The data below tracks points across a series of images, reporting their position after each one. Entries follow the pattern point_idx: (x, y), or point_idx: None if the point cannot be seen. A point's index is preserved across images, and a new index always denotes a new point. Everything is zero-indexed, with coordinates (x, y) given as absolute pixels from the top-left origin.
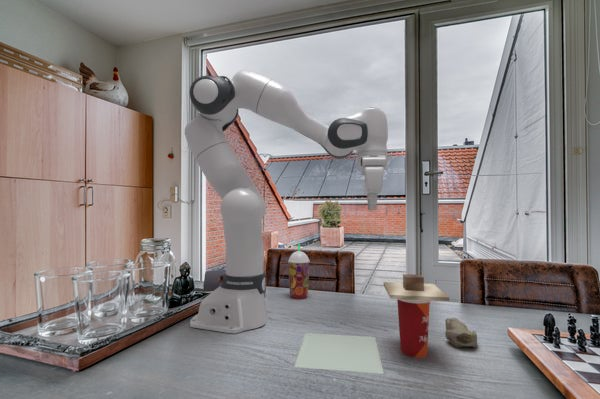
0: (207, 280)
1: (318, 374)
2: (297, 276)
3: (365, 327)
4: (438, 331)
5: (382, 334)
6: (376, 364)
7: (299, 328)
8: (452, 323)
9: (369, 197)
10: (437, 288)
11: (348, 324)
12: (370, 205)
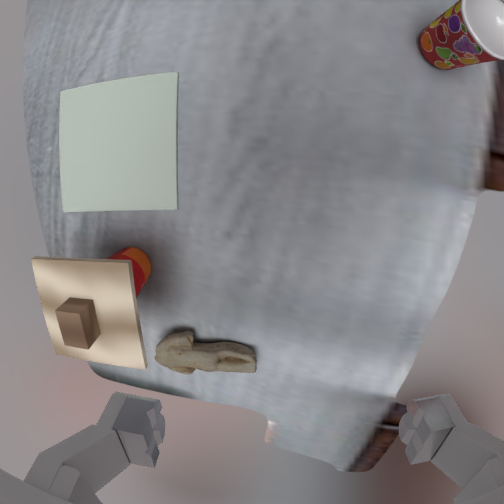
0: None
1: (55, 126)
2: (442, 26)
3: (238, 194)
4: (238, 329)
5: (204, 226)
6: (81, 204)
7: (212, 55)
8: (203, 355)
9: (58, 461)
10: (106, 361)
11: (251, 157)
12: (104, 416)
